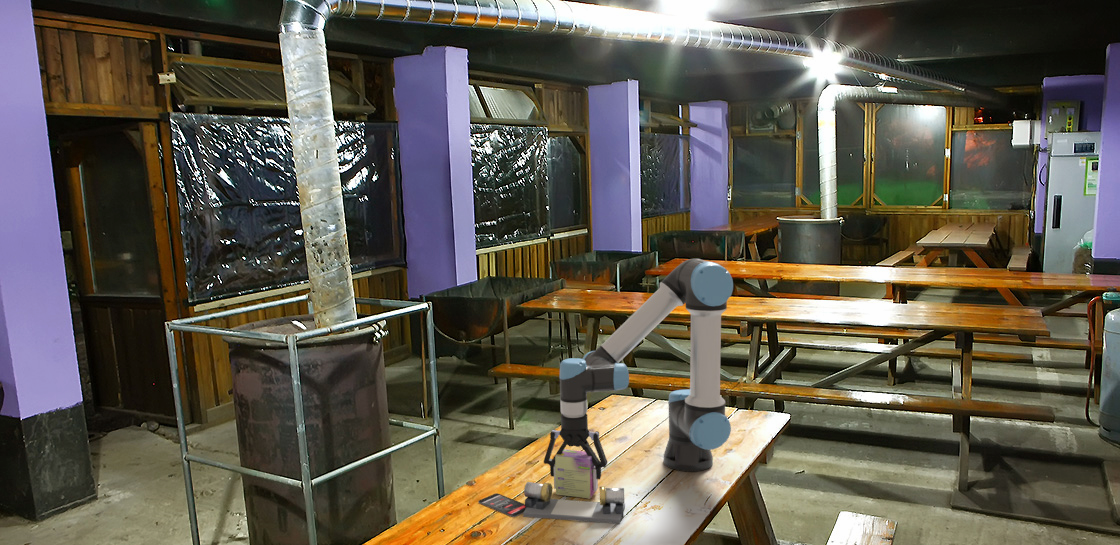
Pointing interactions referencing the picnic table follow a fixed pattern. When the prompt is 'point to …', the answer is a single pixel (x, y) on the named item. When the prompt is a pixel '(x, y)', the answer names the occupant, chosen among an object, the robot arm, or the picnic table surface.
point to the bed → (575, 511)
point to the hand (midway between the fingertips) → (576, 488)
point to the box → (574, 474)
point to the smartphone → (503, 504)
